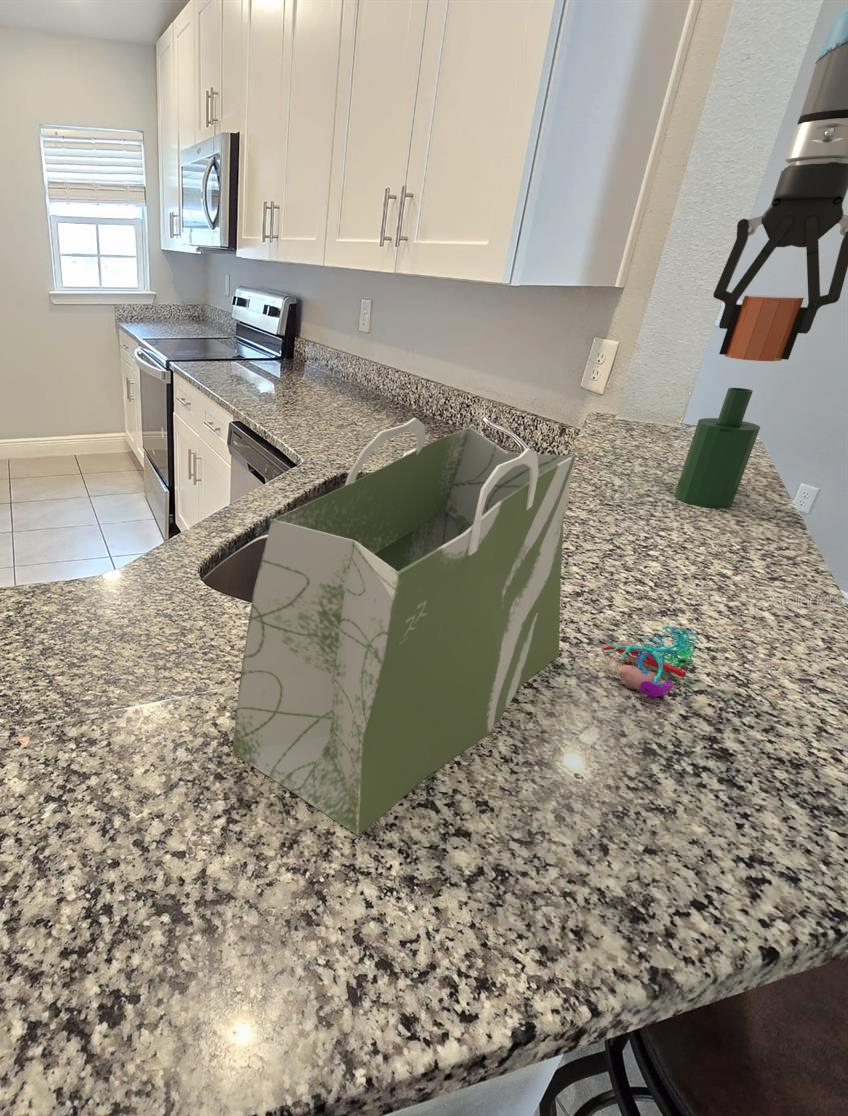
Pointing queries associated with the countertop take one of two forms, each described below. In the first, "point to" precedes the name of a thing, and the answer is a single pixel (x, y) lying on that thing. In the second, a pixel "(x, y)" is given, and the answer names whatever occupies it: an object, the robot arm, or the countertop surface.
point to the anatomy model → (653, 661)
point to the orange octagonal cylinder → (763, 327)
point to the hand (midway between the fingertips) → (753, 355)
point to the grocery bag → (400, 619)
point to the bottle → (718, 454)
